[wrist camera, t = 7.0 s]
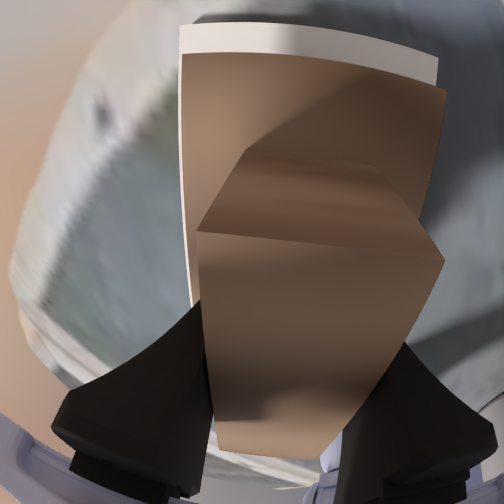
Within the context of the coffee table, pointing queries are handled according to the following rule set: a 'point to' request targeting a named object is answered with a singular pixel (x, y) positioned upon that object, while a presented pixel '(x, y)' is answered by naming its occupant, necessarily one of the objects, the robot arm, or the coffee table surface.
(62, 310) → the coffee table surface
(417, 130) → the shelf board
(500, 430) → the cylinder vase
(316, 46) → the peg base
